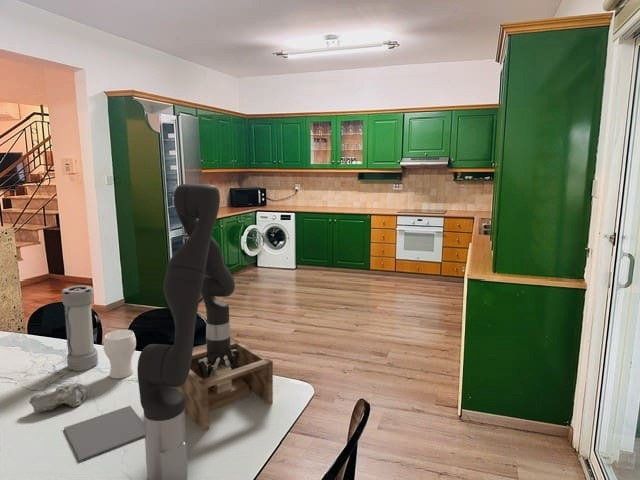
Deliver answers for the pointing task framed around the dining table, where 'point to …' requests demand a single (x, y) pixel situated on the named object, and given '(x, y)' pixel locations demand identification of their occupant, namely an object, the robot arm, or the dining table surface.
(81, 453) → the mat
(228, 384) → the block
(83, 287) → the canister
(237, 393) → the access box
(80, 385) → the rock
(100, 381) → the dining table surface
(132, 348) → the cup
